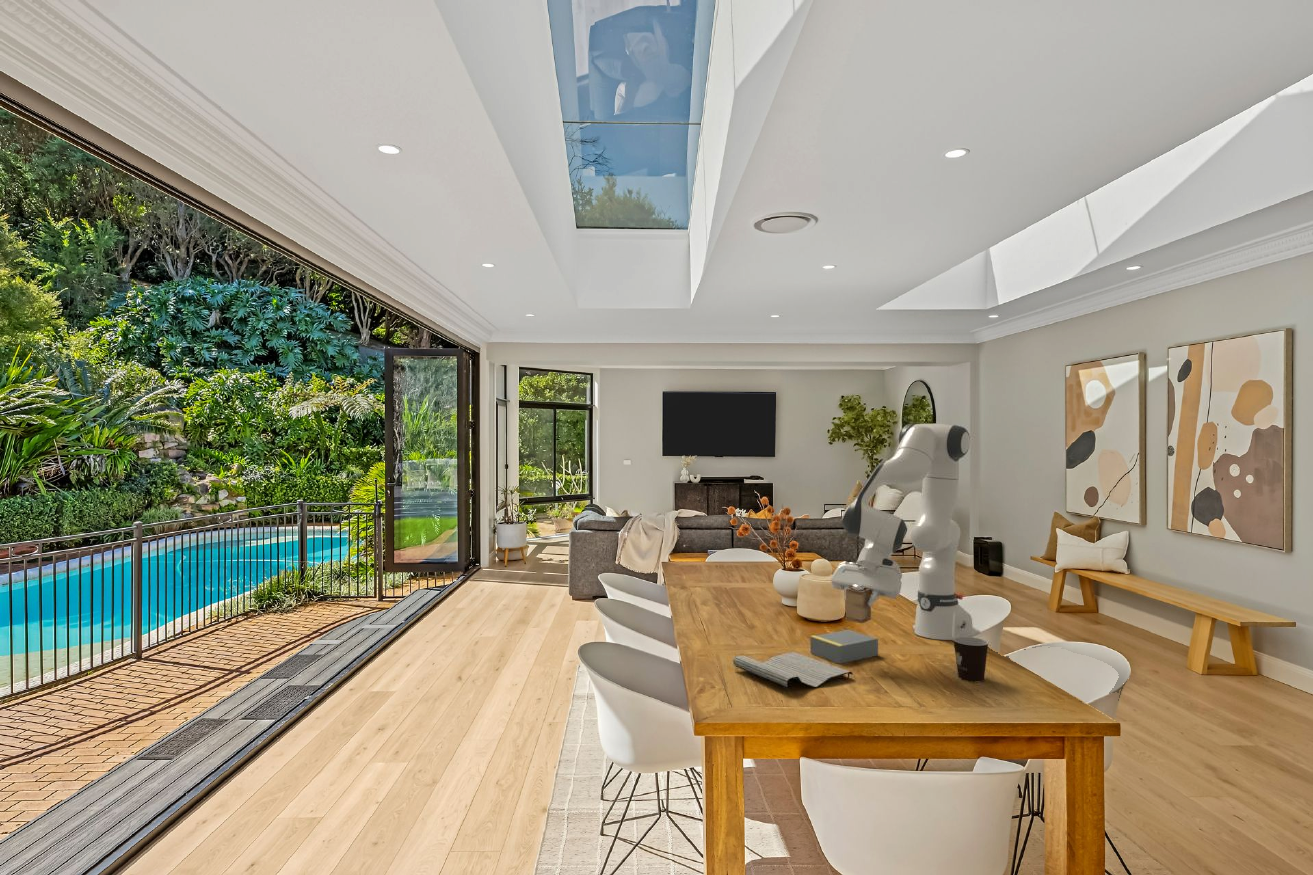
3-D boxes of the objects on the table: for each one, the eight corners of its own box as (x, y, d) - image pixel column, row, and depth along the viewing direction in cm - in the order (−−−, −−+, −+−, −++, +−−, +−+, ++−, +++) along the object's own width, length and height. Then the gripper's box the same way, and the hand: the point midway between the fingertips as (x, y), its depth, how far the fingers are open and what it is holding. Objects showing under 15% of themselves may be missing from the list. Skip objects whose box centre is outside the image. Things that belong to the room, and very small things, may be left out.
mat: (853, 681, 183) (853, 663, 183) (787, 697, 171) (786, 678, 171) (795, 658, 203) (795, 642, 203) (732, 671, 191) (732, 654, 191)
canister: (858, 590, 199) (858, 583, 199) (866, 592, 196) (866, 586, 196) (850, 591, 198) (850, 584, 198) (858, 593, 195) (858, 586, 195)
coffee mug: (990, 684, 178) (990, 646, 178) (955, 681, 181) (954, 643, 181) (984, 671, 189) (984, 635, 190) (951, 668, 192) (950, 632, 192)
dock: (848, 645, 215) (848, 628, 215) (878, 655, 204) (877, 637, 204) (810, 653, 207) (810, 636, 207) (839, 663, 196) (839, 645, 196)
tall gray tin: (854, 616, 201) (854, 585, 201) (870, 619, 197) (871, 588, 197) (845, 620, 196) (845, 589, 196) (862, 623, 193) (862, 591, 193)
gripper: (836, 554, 209) (821, 591, 202) (902, 563, 196) (888, 602, 188) (842, 567, 212) (828, 603, 205) (907, 576, 199) (894, 615, 191)
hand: (857, 603), depth 196 cm, fingers closed on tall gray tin, 5 cm apart
